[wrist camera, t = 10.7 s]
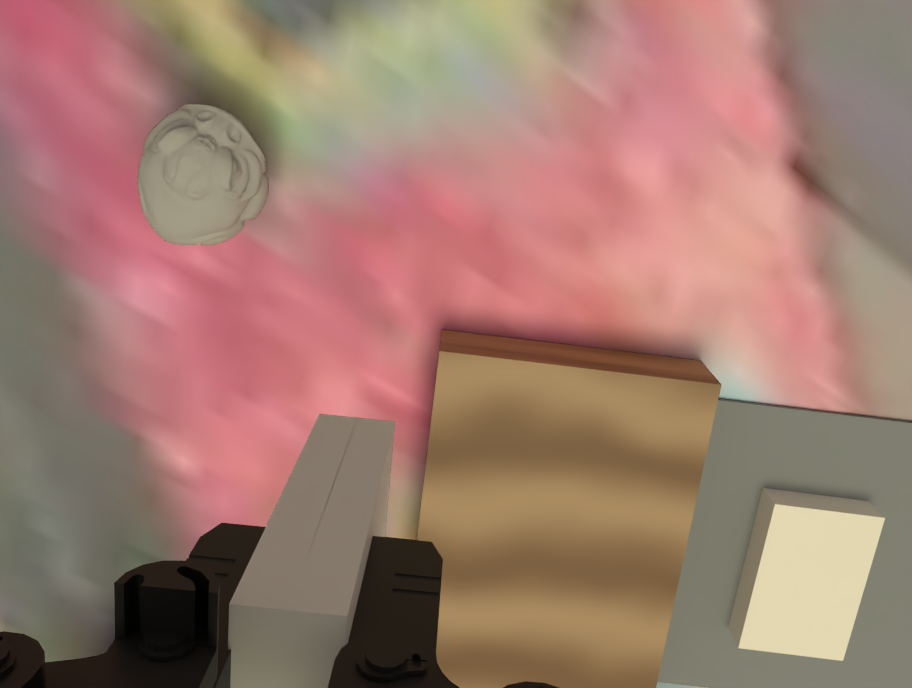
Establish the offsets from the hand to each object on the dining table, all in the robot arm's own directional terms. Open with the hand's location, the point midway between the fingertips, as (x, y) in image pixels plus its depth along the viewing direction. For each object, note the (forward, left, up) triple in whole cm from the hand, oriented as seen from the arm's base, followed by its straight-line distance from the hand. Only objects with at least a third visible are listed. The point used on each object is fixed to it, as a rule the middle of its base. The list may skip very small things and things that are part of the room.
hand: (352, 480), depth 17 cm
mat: (+16, +24, -29) cm, 41 cm away
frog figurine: (-2, -11, -29) cm, 31 cm away
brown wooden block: (+16, +8, -29) cm, 34 cm away
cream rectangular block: (+16, +23, -27) cm, 39 cm away
